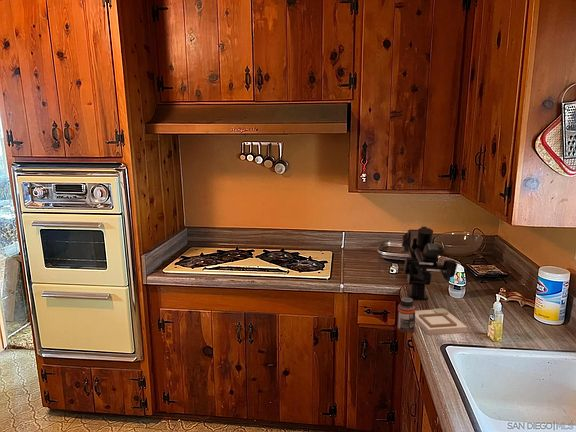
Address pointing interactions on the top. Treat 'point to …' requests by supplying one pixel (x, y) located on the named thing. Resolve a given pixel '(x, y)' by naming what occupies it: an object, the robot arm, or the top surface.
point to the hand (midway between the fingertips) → (436, 279)
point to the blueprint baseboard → (439, 322)
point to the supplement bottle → (406, 316)
